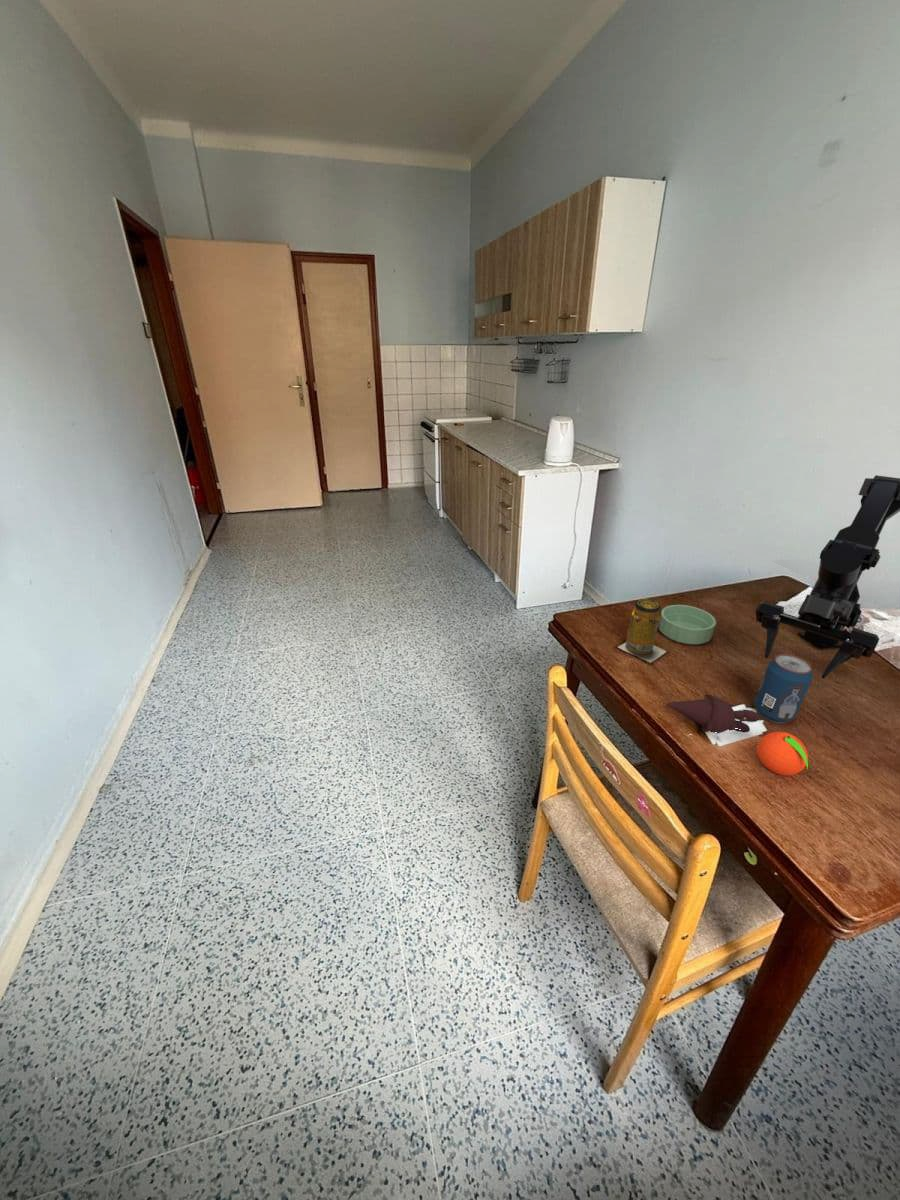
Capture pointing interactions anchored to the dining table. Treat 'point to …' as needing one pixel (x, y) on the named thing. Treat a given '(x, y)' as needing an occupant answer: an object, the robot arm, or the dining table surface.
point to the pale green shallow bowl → (686, 624)
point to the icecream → (715, 714)
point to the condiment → (643, 631)
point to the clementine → (782, 753)
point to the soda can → (783, 688)
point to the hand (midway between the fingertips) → (793, 667)
